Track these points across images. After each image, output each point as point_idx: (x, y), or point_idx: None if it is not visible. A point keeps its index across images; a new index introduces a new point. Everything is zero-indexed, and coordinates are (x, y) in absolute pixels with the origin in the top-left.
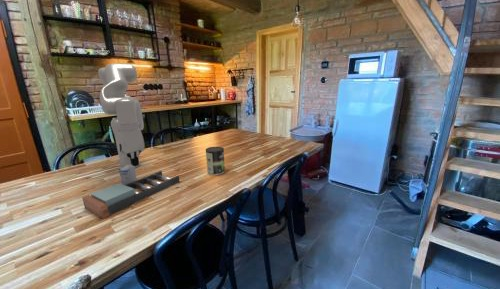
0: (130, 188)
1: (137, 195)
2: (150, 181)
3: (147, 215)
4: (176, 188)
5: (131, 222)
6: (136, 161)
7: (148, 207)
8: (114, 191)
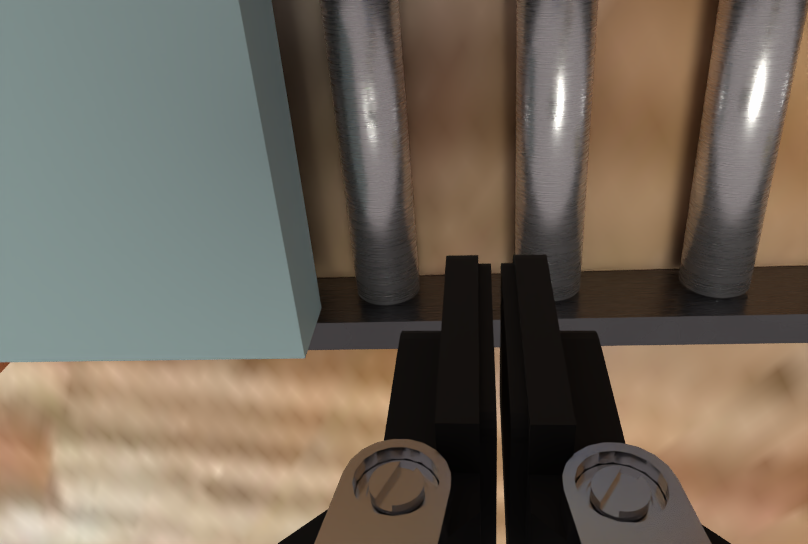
0: (276, 314)
1: (327, 346)
2: (732, 38)
3: (282, 521)
4: (751, 389)
5: (168, 505)
6: (503, 476)
7: (344, 451)
8: (91, 222)
